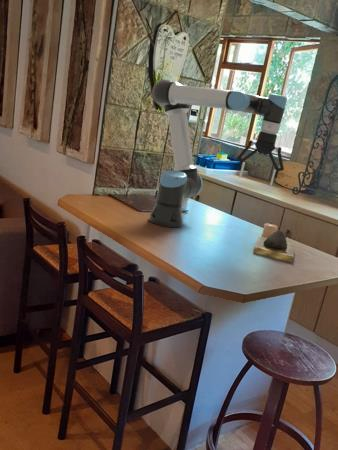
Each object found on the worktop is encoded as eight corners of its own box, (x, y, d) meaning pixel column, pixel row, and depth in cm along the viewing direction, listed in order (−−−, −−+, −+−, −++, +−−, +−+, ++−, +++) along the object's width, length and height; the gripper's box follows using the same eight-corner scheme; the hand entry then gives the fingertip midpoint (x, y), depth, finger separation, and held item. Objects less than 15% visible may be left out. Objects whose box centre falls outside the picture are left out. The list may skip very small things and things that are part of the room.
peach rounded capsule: (260, 239, 204) (264, 225, 202) (261, 236, 210) (265, 222, 208) (273, 242, 203) (277, 228, 201) (274, 239, 208) (278, 225, 206)
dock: (253, 252, 183) (254, 246, 182) (257, 241, 200) (258, 236, 199) (291, 262, 179) (293, 256, 178) (293, 250, 196) (294, 245, 195)
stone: (274, 259, 183) (295, 246, 182) (263, 242, 182) (284, 229, 181) (269, 255, 193) (288, 242, 192) (258, 239, 192) (278, 226, 191)
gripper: (238, 125, 185) (226, 174, 191) (298, 139, 179) (283, 189, 185) (241, 125, 192) (229, 172, 198) (298, 138, 186) (284, 187, 192)
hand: (255, 181), depth 192 cm, fingers open, 13 cm apart
